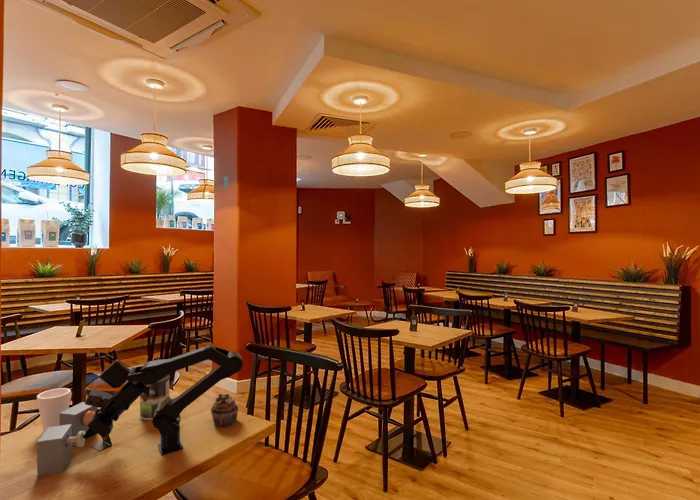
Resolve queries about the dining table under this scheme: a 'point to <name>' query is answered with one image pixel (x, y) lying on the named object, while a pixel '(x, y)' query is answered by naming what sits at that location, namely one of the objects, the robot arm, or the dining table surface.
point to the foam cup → (53, 406)
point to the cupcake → (224, 411)
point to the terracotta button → (88, 417)
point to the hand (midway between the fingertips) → (84, 437)
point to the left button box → (54, 450)
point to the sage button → (76, 439)
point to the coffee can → (154, 398)
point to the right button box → (76, 417)
